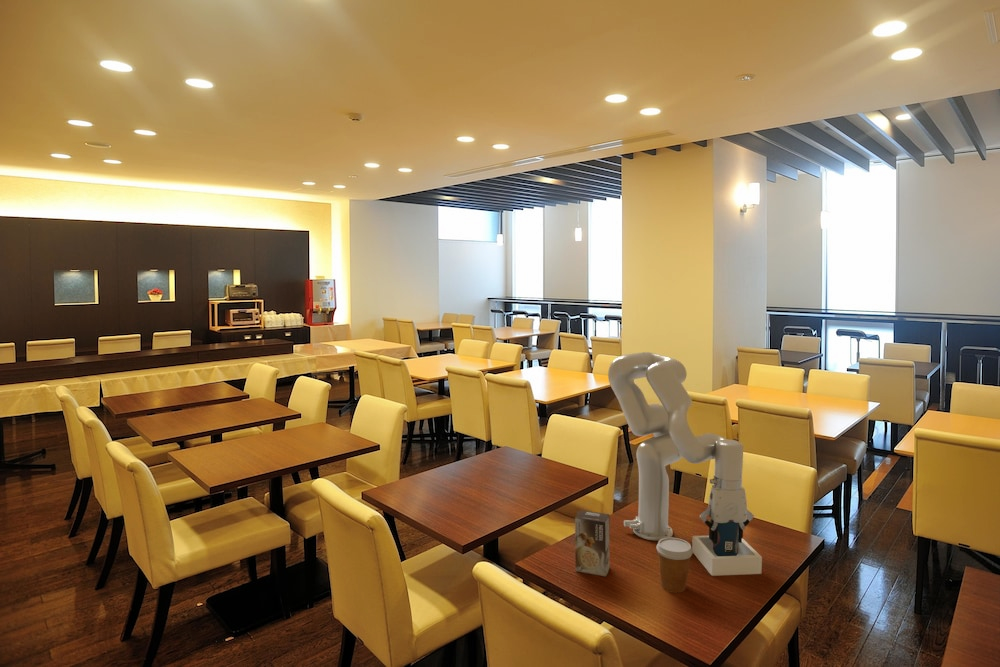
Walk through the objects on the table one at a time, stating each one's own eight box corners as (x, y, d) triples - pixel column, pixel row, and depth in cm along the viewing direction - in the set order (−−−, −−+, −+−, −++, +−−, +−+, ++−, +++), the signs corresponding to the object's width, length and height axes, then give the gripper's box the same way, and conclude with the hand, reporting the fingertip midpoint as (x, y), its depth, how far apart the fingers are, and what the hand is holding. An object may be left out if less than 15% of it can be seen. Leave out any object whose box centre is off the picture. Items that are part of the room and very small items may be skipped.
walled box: (711, 575, 166) (712, 558, 165) (692, 551, 180) (692, 535, 179) (761, 573, 166) (762, 557, 166) (737, 549, 181) (738, 534, 180)
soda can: (710, 548, 177) (711, 510, 176) (734, 549, 176) (736, 511, 175) (715, 559, 170) (717, 519, 169) (740, 561, 169) (742, 521, 168)
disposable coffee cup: (686, 599, 154) (687, 556, 152) (650, 589, 159) (651, 547, 157) (695, 583, 162) (696, 541, 160) (661, 574, 167) (662, 533, 165)
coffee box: (610, 566, 171) (611, 513, 169) (605, 577, 165) (606, 522, 163) (579, 561, 174) (579, 509, 173) (574, 571, 168) (574, 517, 167)
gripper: (704, 488, 166) (701, 548, 168) (763, 486, 167) (760, 546, 169) (693, 478, 174) (691, 536, 176) (750, 477, 175) (748, 534, 177)
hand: (725, 540), depth 173 cm, fingers closed on soda can, 6 cm apart
